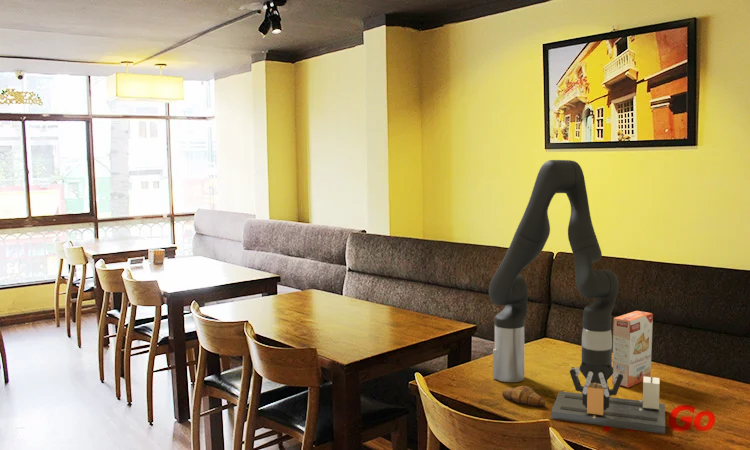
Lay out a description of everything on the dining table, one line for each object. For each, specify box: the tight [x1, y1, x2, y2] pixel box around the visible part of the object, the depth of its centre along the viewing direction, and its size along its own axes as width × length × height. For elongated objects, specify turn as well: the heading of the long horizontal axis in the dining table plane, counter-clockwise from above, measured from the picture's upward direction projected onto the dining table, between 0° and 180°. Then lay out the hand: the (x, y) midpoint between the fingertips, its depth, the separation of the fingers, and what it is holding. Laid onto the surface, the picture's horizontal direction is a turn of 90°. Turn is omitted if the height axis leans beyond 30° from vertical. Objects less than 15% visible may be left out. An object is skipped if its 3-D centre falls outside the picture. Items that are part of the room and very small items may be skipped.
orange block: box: [587, 383, 604, 415], centre depth 172 cm, size 4×5×7 cm
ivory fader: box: [642, 376, 660, 409], centre depth 175 cm, size 4×5×7 cm
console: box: [550, 390, 666, 435], centre depth 176 cm, size 28×17×2 cm, turn 67°
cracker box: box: [611, 310, 654, 388], centre depth 200 cm, size 14×6×21 cm, turn 130°
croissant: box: [501, 385, 546, 408], centre depth 186 cm, size 14×7×5 cm, turn 47°
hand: (596, 407), depth 172 cm, fingers closed on orange block, 4 cm apart
